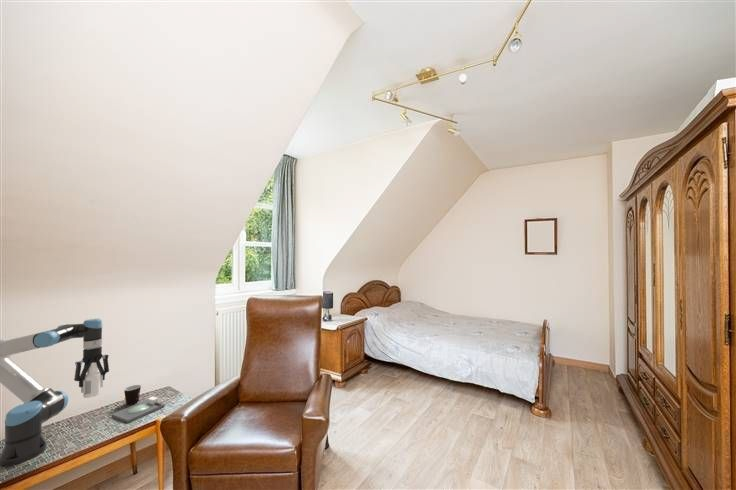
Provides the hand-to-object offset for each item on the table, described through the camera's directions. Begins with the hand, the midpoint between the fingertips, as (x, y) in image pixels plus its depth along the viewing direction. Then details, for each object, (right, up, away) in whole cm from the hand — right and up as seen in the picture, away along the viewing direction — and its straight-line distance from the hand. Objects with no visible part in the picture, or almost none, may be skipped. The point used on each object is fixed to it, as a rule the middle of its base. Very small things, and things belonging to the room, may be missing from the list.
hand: (92, 389), depth 160 cm
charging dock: (+10, -24, +20) cm, 33 cm away
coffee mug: (-3, -25, +33) cm, 42 cm away
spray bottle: (0, -3, 0) cm, 3 cm away
